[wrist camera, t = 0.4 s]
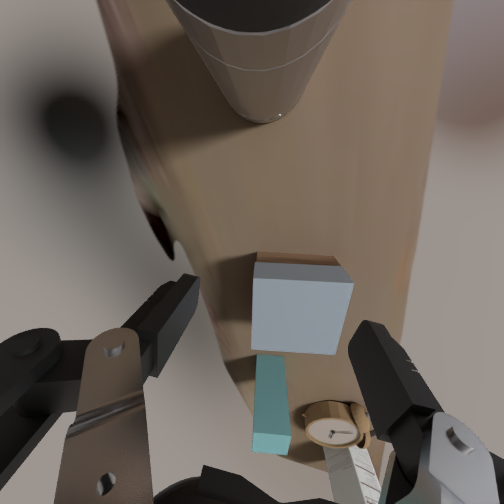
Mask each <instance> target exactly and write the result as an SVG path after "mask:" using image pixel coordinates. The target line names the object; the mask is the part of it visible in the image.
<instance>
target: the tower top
mask: <svg viewBox="0 0 504 504" xmlns="http://www.w3.org/2000/svg"><path fill="white" fill-rule="evenodd" d="M353 286H354V282H353V281H352V280H351V278H350V277H349V276H348V274H347V273H346V272H345V270H344V269H343V267H342V266H327V265H307V264H286V263H265V262H255V266H254V276H253V304H252V337H251V349H254V350H269V351H284V352H299V353H314V354H328V355H335V353H336V350H337V346H338V342H339V338H340V335H341V331H342V327H343V323H344V320H345V316H346V312H347V309H348V305H349V301H350V297H351V294H352V290H353Z"/></svg>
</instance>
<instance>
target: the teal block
mask: <svg viewBox="0 0 504 504" xmlns="http://www.w3.org/2000/svg"><path fill="white" fill-rule="evenodd" d="M253 419H254V420H253V440H252V441H253V442H252V452H260V453H270V454H280V455H287V453H288V449H289V444H290V439H291V428H290V418H289V407H288V397H287V386H286V376H285V366H284V357H283V356H271V355H258V354H257V360H256V374H255V396H254V418H253Z"/></svg>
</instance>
